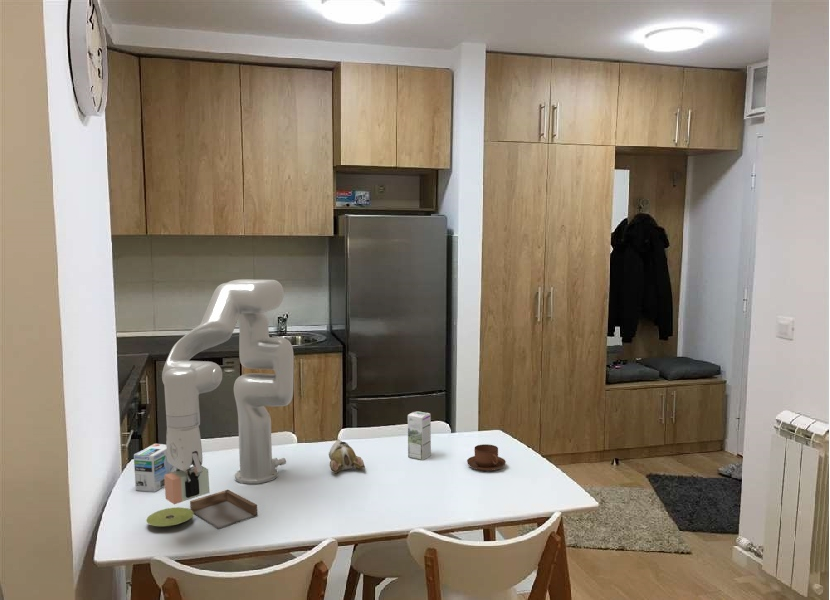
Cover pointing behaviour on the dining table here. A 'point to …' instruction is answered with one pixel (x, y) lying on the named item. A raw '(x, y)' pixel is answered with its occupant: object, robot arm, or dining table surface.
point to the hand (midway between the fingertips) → (187, 492)
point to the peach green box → (177, 485)
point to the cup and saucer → (486, 458)
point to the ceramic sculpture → (343, 457)
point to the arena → (223, 509)
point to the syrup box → (419, 435)
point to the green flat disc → (170, 516)
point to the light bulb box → (151, 468)
